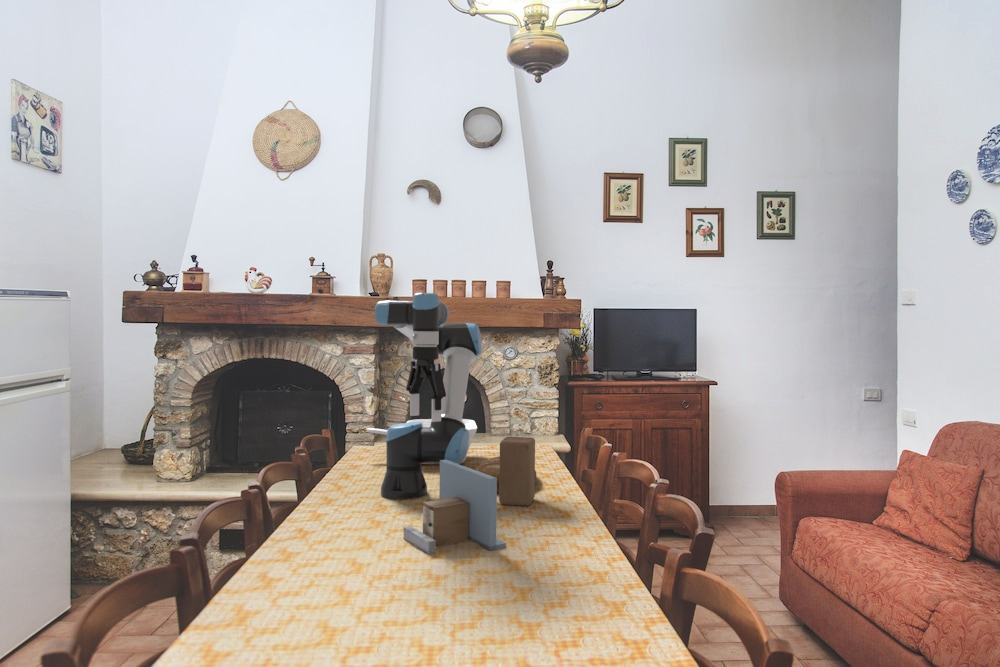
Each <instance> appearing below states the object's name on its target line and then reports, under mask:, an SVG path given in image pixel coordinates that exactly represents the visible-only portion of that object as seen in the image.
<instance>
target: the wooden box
mask: <svg viewBox="0 0 1000 667" xmlns="http://www.w3.org/2000/svg"><path fill="white" fill-rule="evenodd" d="M468 519H469V502H467V501H464V500H462V499H460V498H458V497H452V498H446V499H440V500H439V499H435V500H428V501H423V502H422V533H424V534H425V535H427V536H429V537H431V538H432V539H434V540H436V548H439V547H441V546H446V545H451V544H457V543H460V542H462V543H463V542H466V541H469V539H468Z"/></svg>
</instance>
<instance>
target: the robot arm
mask: <svg viewBox="0 0 1000 667" xmlns="http://www.w3.org/2000/svg"><path fill="white" fill-rule="evenodd" d="M439 296H440V295H439V294H438V293H435V292H417V293H416V292H415V294H414V295H413V297H412V300H390V299H387V300H380V301H378V302H376V304H375V307H374V319H375V322H376V323H377V324H378V325H380V326H381V325H382V326H392V327H393V328H394V329H396V331H399V332H400V333H401V334H402V335H404V336H405V337H407V338H408V339H409V341H410V343H411V344H412V346H413V347H412V359H413V360H414V361H411V362H410V364H411V365H410V371H409V376H408V379H407V384H406V387H405V389H406V391H408V394H409V398H410V399H409V417H414V416H415V417H416V416H420V388H421V386H422V383H423V381H424V380H425V381H427V384H428V387H429V389H430V393H431V395H432V396H431V418H430V419H431V426H430V427H422V426H423V425H422V423H421V422H409V423H407V422H403V423H398V424H393V425H390V426H389V427H388V428H387V429H386V430H387V435H386V440H385V443H386V445H385V446H386V448H385V449H386V467H385V468H386V470H385V471H386V472H385V474H384V478H383V481H382V483H381V486H380V495H381V496H382V497H384V498H386V499H393V500H411V499H416V498H422V497H425V496H426V495H427V494H428V485H427V483H426V479H425V475H424V472H423V468H422V467H423V464H422V463H435V464H434V465H440V460H448V461H451V462H454V463H457V464H459V463H461V462H462V461H463V460H464V458H465V456H466V454H467V455H468V453H467V450H468V445H469V432H468V430H467V429H465V424H464V423H463V422H462V419H463V415H464V409H465V402H466V394H467V388H468V384H469V383H468V382H469V375H470V374H469V373H470V368H471V364H473V363H474V362H475V361H476V357H477V356H481V355H482V338H481V337H482V336H481V330H480V327H479V325H478V324H477V323H474V322H473V323H470V322H465V323H464V322H462V323H461V322H447V321H448V319H449V317H450V310H449V308H448V306H447V305H446V304H445V303H444V302H442V301H440V297H439ZM439 355H440V356H443V358H444V359H445V367H444V372H443V375H442V372H441V371H442V370H441V363H435V360H438V359H439ZM415 360H416V361H415ZM468 451H469V450H468ZM466 457H467V456H466ZM465 459H466V458H465ZM459 465H460V464H459Z"/></svg>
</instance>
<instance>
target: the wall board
mask: <svg viewBox="0 0 1000 667" xmlns="http://www.w3.org/2000/svg"><path fill="white" fill-rule="evenodd" d="M497 495H498V494H497V478H495V477H492V476H490V475H487V474H484V473H481V472H479V471H476V469H473V468H470V467H468V466H464V465H463V464H462V465H461V464H457V463H454V462H451V461H448V460H440V464H439V498H438V500H440V499H446V498H452V497H458V498H460V499H462V500H464V501H467V502H469V519H468V541H471V542H473V543H475V544H477V545H478V546H480V547H482V548H484V549H486V550H487V551H494V550H499V549H503V548H506V547H507V543H506V542H505V541H502V540H501V539H499V538H497V515H498V514H497V510H498V508H497V502H498V501H497V500H498V498H497Z"/></svg>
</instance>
